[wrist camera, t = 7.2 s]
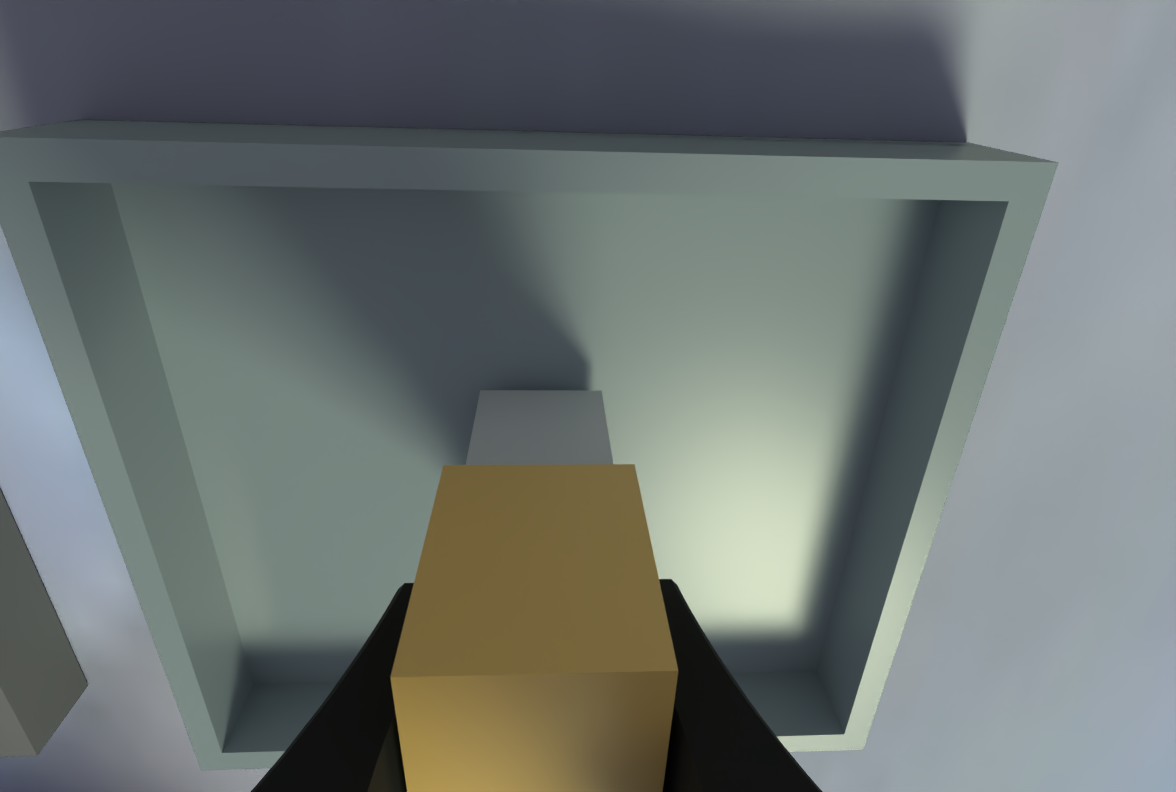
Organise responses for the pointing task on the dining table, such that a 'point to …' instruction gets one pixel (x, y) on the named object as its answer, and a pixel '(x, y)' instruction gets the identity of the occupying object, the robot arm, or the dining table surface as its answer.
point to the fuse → (536, 614)
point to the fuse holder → (30, 652)
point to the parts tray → (513, 374)
